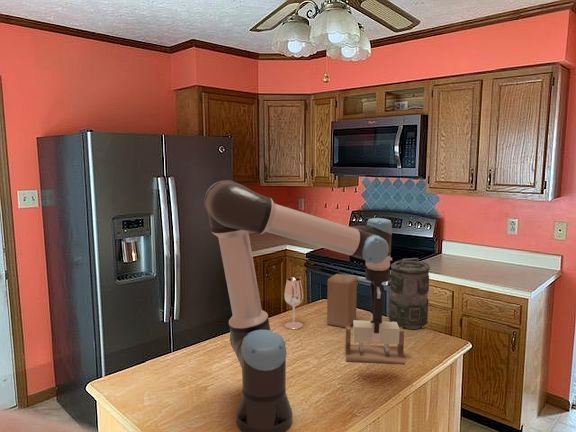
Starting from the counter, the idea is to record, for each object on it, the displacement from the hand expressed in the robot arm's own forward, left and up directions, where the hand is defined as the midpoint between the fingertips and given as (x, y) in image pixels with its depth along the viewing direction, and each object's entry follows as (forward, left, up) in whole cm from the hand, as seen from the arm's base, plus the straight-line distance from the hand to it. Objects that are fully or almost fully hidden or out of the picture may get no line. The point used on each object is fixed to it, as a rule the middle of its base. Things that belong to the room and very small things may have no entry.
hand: (374, 337), depth 145 cm
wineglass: (+39, +30, -13) cm, 51 cm away
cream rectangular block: (0, 0, -1) cm, 1 cm away
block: (+44, +10, -13) cm, 47 cm away
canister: (+47, -18, -13) cm, 52 cm away
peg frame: (+15, -1, -13) cm, 20 cm away
